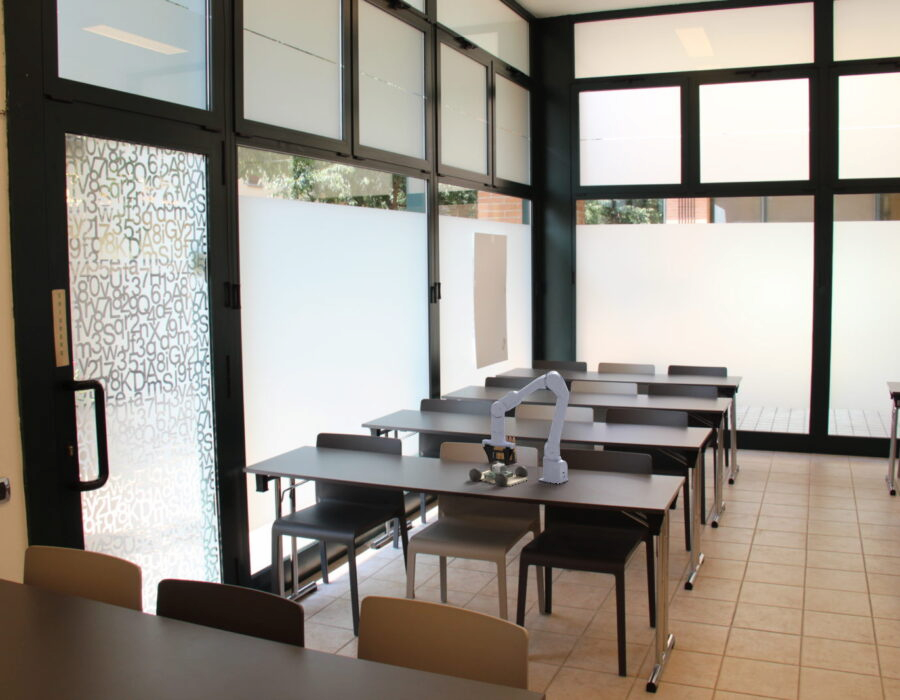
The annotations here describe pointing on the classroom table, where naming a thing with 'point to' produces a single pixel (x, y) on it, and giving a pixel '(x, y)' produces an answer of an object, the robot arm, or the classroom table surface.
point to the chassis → (500, 476)
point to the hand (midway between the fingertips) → (498, 464)
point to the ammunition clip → (499, 454)
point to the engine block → (499, 469)
